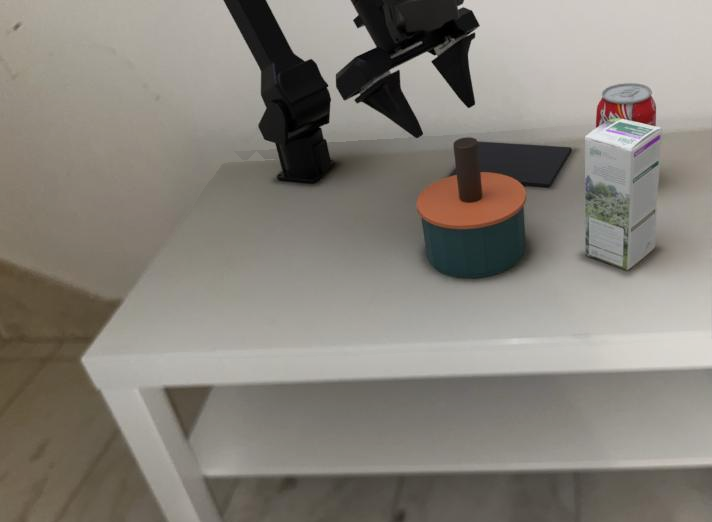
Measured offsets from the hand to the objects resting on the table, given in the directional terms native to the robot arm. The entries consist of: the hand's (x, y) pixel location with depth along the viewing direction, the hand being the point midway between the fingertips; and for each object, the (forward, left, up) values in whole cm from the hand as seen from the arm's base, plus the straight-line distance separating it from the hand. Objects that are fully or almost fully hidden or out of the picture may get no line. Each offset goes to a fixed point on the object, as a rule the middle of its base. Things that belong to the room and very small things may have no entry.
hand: (446, 121), depth 87 cm
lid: (+5, -6, -7) cm, 10 cm away
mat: (+2, +16, -13) cm, 21 cm away
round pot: (+5, -6, -13) cm, 15 cm away
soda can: (+18, +13, -13) cm, 26 cm away
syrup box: (+21, -3, -13) cm, 25 cm away
